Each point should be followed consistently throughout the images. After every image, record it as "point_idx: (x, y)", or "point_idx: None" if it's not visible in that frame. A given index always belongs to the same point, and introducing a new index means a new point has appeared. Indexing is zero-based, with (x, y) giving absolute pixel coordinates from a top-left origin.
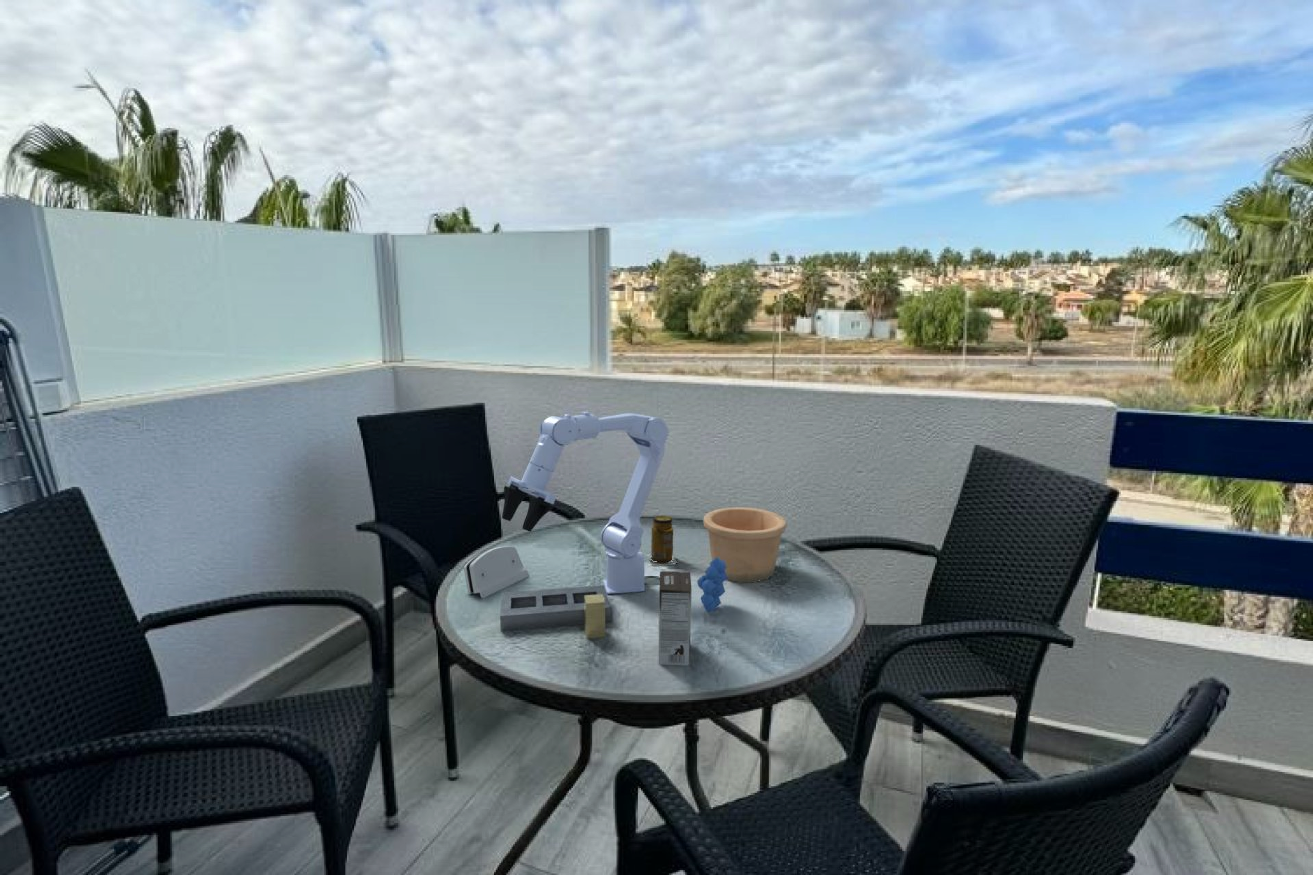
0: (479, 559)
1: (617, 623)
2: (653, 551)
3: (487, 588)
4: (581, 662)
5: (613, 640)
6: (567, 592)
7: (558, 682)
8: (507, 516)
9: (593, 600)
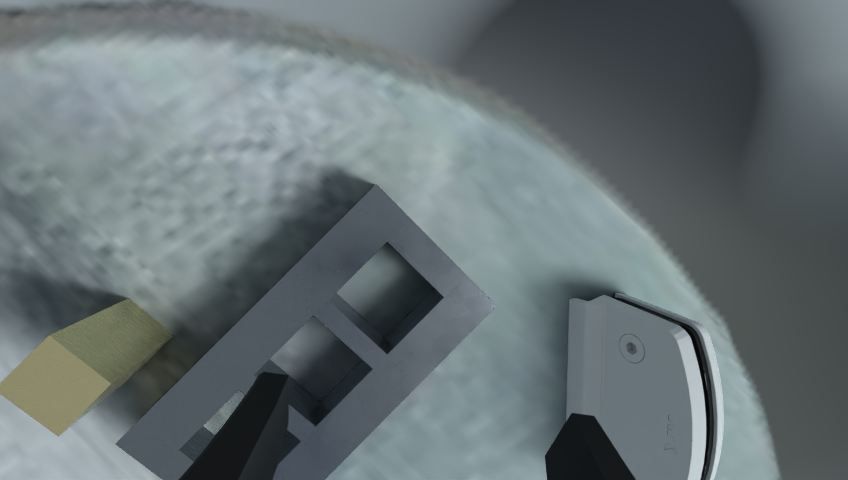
0: (682, 371)
1: (116, 421)
2: None
3: (584, 329)
4: (33, 183)
5: None
6: (319, 435)
7: (5, 59)
8: (567, 459)
9: (44, 372)
